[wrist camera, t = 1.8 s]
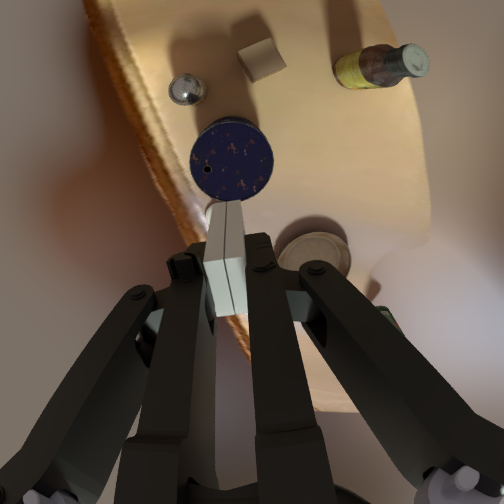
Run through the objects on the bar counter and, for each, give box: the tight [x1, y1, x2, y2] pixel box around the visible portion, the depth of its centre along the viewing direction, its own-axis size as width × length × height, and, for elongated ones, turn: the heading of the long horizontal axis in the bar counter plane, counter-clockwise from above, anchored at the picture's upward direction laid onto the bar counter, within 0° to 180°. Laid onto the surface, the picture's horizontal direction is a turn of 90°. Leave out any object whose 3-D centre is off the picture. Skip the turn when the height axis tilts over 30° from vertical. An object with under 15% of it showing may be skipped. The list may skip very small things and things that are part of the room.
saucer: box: [277, 232, 351, 278], centre depth 56 cm, size 15×15×3 cm
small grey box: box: [237, 38, 287, 83], centre depth 37 cm, size 5×5×6 cm
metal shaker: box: [169, 74, 206, 105], centre depth 37 cm, size 5×5×9 cm
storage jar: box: [189, 116, 274, 202], centre depth 39 cm, size 10×10×15 cm
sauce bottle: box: [334, 44, 430, 90], centre depth 31 cm, size 6×6×20 cm
